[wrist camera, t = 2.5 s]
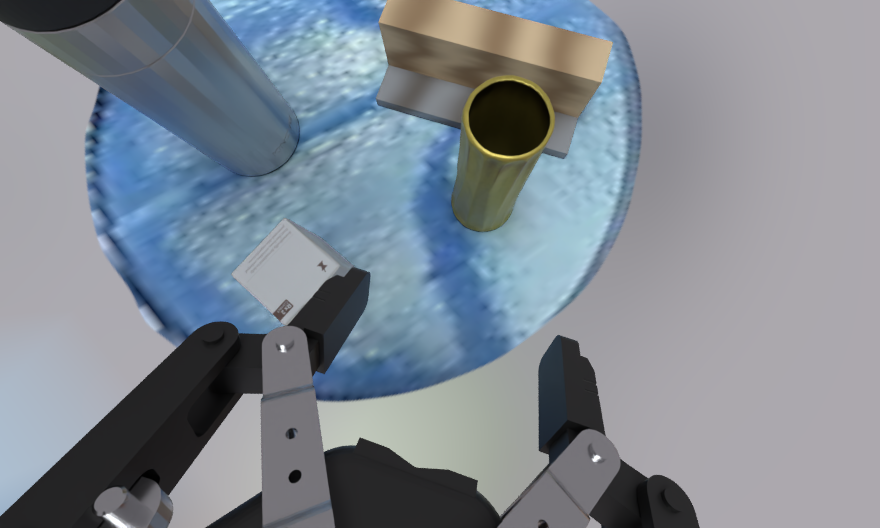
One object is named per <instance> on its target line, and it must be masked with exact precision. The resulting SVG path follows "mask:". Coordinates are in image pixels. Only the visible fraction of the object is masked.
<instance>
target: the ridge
mask: <svg viewBox="0 0 880 528" xmlns="http://www.w3.org/2000/svg"><path fill="white" fill-rule="evenodd" d="M379 26H380V30H381V34H382V39H383V43H384V47H385V51H386V55H387V60H388V64H389V66H388V68H387V71H386V73H385V76H384V79H383V81H382V84H381V86H380V89H379V92H378V94H377V97H376V101H377V104H378V105H380V106H383V107H387V108H390V109H394V110H397V111H401V112H404V113H408V114H411V115H414V116H418V117H421V118H425V119H428V120H432V121H435V122H439V123H442V124H446V125H449V126H452V127H456V128H459V129H461V116H462V111H463V109H464V106H465V104H466V102H467V100H468V98H469V96H470V94H471V93H472V92H473V91H474V90H475V89H476V88H477V87H478V86H479V85H481V84H482V83H484V82H485V81H487V80H489V79H491V78H494V77H497V76H503V75H514V76H519V77H522V78H525V79H527V80H530V81H532V82H534V83H536V84H537V85H538V86H539V87H541V89H542V90H543V91H544V92H545V93H546V94H547V96H548V97H549V99H550V102H551V104H552V107H553V110H554V114H555V126H554V130H553V133H552V135H551V137H550V139H549V141H548V143H547V144H546V146H545V148H544V149H543V151H542V153H546V154H549V155H553V156H556V157H560V158H563V159H564V158H565V157H566V155H567V154H568V151H569V147H570V144H571V140H572V137H573V133H574V130H575V126H576V123H577V119H578V117H579V116H580V114H581V113H582V111H583V110H584V108H585V107H586V105H587V104H588V102H589V101H590V99H591V98H592V96H593V95H594V93H595V92H596V90H597V89H598V87H599V86H600V84H601V83H602V79H603V76H604V72H605V69H606V65H607V61H608V58H609V54H610V51H611V47H612V44H613V42H610V41H607V40H603V39H599V38H595V37H591V36H587V35H584V34H580V33H576V32H572V31H568V30H565V29H561V28H557V27H553V26H549V25H545V24H542V23H538V22H534V21H530V20H526V19H522V18H519V17H515V16H511V15H507V14H503V13H499V12H496V11H492V10H488V9H484V8H480V7H477V6H473V5H469V4H465V3H461V2H457V1H454V0H387V3H386V5H385V8H384V10H383V13H382V15H381V18H380V20H379Z"/></svg>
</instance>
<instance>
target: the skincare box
mask: <svg viewBox="0 0 880 528" xmlns="http://www.w3.org/2000/svg"><path fill="white" fill-rule="evenodd" d="M352 267H354V266H353V265H352V264H351V263H350V262H349V261H347V260H346V259H345V258H344V257H343V256H342V255H340V254H339V253H338V252H337V251H336V250H335V249H334V248H332V247H331V246H330V245H329V244H328V243H327V242H325V241H324V240H323V239H322V238H321V237H319V236H317V235H316V234H314V233H312V232H310V231H308V230H306V229H305V228H303V227H301V226H299V225H298V224H296V223H294V222H292V221H290V220H289V219H287V218H284V219H283V220H282V221H281V222H280V223H279V224H278V225H277V226H276V227H275V228H274V229H273V230H272V231H271V232H270V233H269V235H268V236H267V237H266V238H265V239H264V240H263V241H262V242H261V243H260V244H259V245H258V246H257V247H256V248H255V249H254V250H253V251H252V252H251V253H250V255H249V256H248V257H247V258H246V259H245V260H244V261H243V262H242V263H241V264H240V265H239V266H238V267H237V268H236V269H235V270H234V271H233V272H232V274H231V275H232V276H233V277H234V278H235V279H236V280H237V281H238V282H239V283H240V284H241V285H242V286H243V287H244V288H245V289H247V290H248V291H249V292H250V293H251V294H252V295H253V296H254V297H255V298H256V299H257V300H258V301H259V302H260V303H261V304H262V305H263V306H264V307H266V308H267V309H268V310H269V311H270V312H271V313H272V314H273V315H274V316H275V317H276V318H277V319H278V320H279V321H280V322H281V323H282V324H283V325H285V326H287V325H288V324H289V323H290V322H291V321H292V319H293V318H294V317H295V316H296V315H297V314H298V312H299V311H300V310H301V309H302V308H303V307H304V305H305V304H306V303H307V302H308V301H309V300H310V298H312V297H313V295H314V294H315V293H316V291H318V289H319V288H320V287H321V286H322V284H323V283H324V282H325V281H326V280H328V279H330V278H332V277H333V276H335V275H339V276H342V277H344V276H345V275H346V274H347V273H348V271H349V270H350V269H351V268H352ZM355 268H356V267H355Z"/></svg>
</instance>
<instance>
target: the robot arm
mask: <svg viewBox="0 0 880 528" xmlns="http://www.w3.org/2000/svg"><path fill="white" fill-rule="evenodd" d="M0 21H1V22H3V23H4V24H5V25H7V26H8V27H10V28H11V29H13V30H15V31H16V32H18V33H19V34H21V35H22V36H24V37H25V38H27V39H28V40H30V41H31V42H33V43H34V44H36V45H38V46H39V47H41V48H42V49H44V50H45V51H47V52H48V53H50V54H51V55H53V56H54V57H56V58H57V59H59V60H61V61H62V62H64V63H65V64H67V65H68V66H70V67H72V68H73V69H75V70H76V71H78V72H80V73H81V74H83V75H84V76H86V77H87V78H89V79H90V80H92V81H93V82H95V83H96V84H98V85H99V86H101V87H102V88H104V89H106V90H107V91H109V92H110V93H112V94H113V95H115V96H116V97H118V98H119V99H121V100H122V101H124V102H125V103H127V104H129V105H130V106H132V107H133V108H135V109H136V110H138V111H139V112H141V113H142V114H144V115H145V116H147V117H149V118H150V119H152V120H153V121H155V122H156V123H158V124H159V125H161V126H162V127H164V128H165V129H167V130H168V131H170V132H172V133H173V134H175V135H176V136H178V137H179V138H181V139H182V140H184V141H185V142H187V143H188V144H190V145H191V146H193V147H195V148H196V149H197V150H199V151H200V152H202V153H203V154H205V155H206V156H208V157H210V158H211V159H213V160H214V161H216V162H217V163H219V164H220V165H222V166H223V167H225V168H227V169H228V170H230V171H232V172H233V173H236V174H240V175H244V176H258V175H263V174H266V173H270V172H271V171H273V170H275V169H277V168H279V167H280V166H281V165H282V164H284V163H285V162H286V161H287V160H288V159H289V157H290V156H291V155H292V153H293V151H294V150H295V148H296V145H297V142H298V139H299V124H298V120H297V117H296V115H295V113H294V111H293V110H292V109H291V107H290V106H289V105H288V103H287V102H286V101H285V99H284V98H283V97H282V95H281V94H280V93H279V91H278V90H277V89H276V87H275V86H274V85H273V83H272V82H271V80H270V79H269V78H268V77H267V75H266V74H265V73H264V71H263V70H262V69H261V67H260V66H259V65H258V63H257V62H256V61H255V60H254V58H253V57H252V56H251V54H250V53H249V52H248V50H247V49H246V48H245V46H244V45H243V44H242V42H241V41H240V40H239V39H238V37H237V36H236V35H235V33H234V32H233V31H232V29H231V28H230V27H229V25H228V24H227V23H226V22H225V20H224V19H223V18H222V16H221V15H220V14H219V12H218V11H217V10H216V8H215V7H214V6H213V4H212V3H211V2H210V1H209V0H0ZM369 285H370V272H367V271H364V270H361V269H358V268H355V267H352V268H351V269H350V270H349V271H348V273H347V274H346V275H345V276H344V277H342V276H339V275H335V276H333V277H332V278H330V279H328V280H326V281H325V282H324V283H323V284H322V286H321V287H320V288H319V289H318V291H316V293H315V294H314V295H313V297H312V298H310V300H309V301H308V302H307V303H306V304H305V305H304V307H303V308H302V309H301V310H300V311H299V312H298V314H297V315H296V316H295V317H294V318H293V319H292V321H291V322H290V323H289V324H288V325H287V326H283V327H279V328H276V329H274V330H272V331H271V332H269V333H268V334H243V333H238V330H237V328H236V327H235V326H234V325H233V324H231V323H228V322H212V323H209V324H206V325H204V326H202V327H200V328H198V329H197V330H196V331H194V332H193V333H192V334H191V335H190V336H189V337H188V338H187V339H186V340H185V341H184V342H183V343H182V344H181V345H180V346H179V347H178V348H176V349H175V350H174V351H173V352H172V353H171V354H170V355H169V356H168V357H167V358H166V359H165V360H164V361H163V362H162V363H161V364H160V365H159V366H158V367H157V368H156V369H155V370H153V371H152V372H151V373H150V374H149V375H148V376H147V377H146V378H145V379H144V380H143V381H142V382H141V383H140V384H139V385H138V386H137V387H136V388H135V389H134V390H132V391H131V392H130V393H129V394H128V395H127V396H126V397H125V398H124V399H123V400H122V401H121V402H120V403H119V404H118V405H117V406H116V407H115V408H114V409H113V410H111V411H110V412H109V413H108V414H107V415H106V416H105V417H104V418H103V419H102V420H101V421H100V422H99V423H98V424H97V425H96V426H95V427H94V428H93V429H91V430H90V431H89V432H88V434H86V435H85V436H84V437H83V438H82V439H81V440H80V441H79V442H78V443H77V444H76V445H75V446H74V447H73V448H72V449H71V450H70V451H69V452H68V453H66V454H65V455H64V456H63V457H62V458H61V459H60V460H59V461H58V462H57V463H56V464H55V465H54V466H53V467H52V468H51V469H50V470H49V471H47V472H46V473H45V474H44V475H43V476H42V477H41V478H40V479H39V480H38V481H37V482H36V483H35V484H34V485H33V486H32V487H31V488H30V489H29V490H28V491H27V492H25V493H24V494H23V495H22V496H21V497H20V498H19V499H18V500H17V501H16V502H15V503H14V504H13V505H12V506H11V507H10V508H9V509H8V510H7V511H5V513H3V514H2V515H1V516H0V528H167V527H168V525H169V523H170V521H171V518H172V515H173V503H172V500H171V499H170V497H169V496H168V495H169V494H170V493H171V491H172V490H173V488H174V487H175V486H176V484H177V483H178V482H179V480H180V479H181V478H182V476H183V475H184V474H185V472H186V471H187V469H188V468H189V467H190V465H191V464H192V463H193V461H194V460H195V459H196V457H197V456H198V455H199V453H200V452H201V450H202V449H203V448H204V446H205V445H206V444H207V442H208V441H209V440H210V438H211V437H212V435H213V434H214V433H215V431H216V430H217V429H218V427H219V426H220V425H221V423H222V422H223V421H224V419H225V418H226V417H227V415H228V414H229V412H230V411H231V410H232V408H233V407H234V406H235V404H236V403H237V402H238V400H239V399H240V398H241V396H242V395H243V393H245V394H247V393H250V394H263V398H262V399H261V448H262V450H261V452H262V491H261V492H260V493H258V494H257V495H256V496H254V497H252V498H251V499H249V500H248V501H246V502H244V503H243V504H241V505H240V506H238V507H237V508H235V509H234V510H232V511H231V512H229V513H227V514H226V515H224V516H223V517H221V518H220V519H218V520H217V521H215V522H213V523H212V524H210V525H209V526H207V527H206V528H586V527H587V525H588V523H589V521H590V518H589V515H590V516H591V517H592V518H594V519H595V520H596V521H598V522H599V523H600V524H601V526H602V528H700V527H699V524H698V520H697V517H696V513H695V510H694V507H693V505H692V503H691V501H690V499H689V498H688V496H687V495H686V494H685V492H684V491H683V490H682V489H681V488H680V487H679V486H678V485H677V484H676V483H675V482H674V481H672V480H671V479H669V478H667V477H665V476H662V475H654V476H651V477H650V478H647V477H645V476H644V475H642V474H641V473H639V472H638V471H637V470H635V469H634V468H632V467H631V466H629V465H628V464H626V463H625V462H624V461H622V460H621V459H620V457H619V454H618V452H617V449H616V448H615V447H614V445H613V443H612V442H611V441H610V440H609V439H608V438H607V437H606V435H605V431H604V425H603V419H602V413H601V407H600V402H599V396H598V389H597V386H596V378H595V372H594V369H593V368H592V366H591V364H590V362H589V360H588V359H587V358H585V357H582V356H580V351H579V343H578V342H577V341H575V340H572V339H569V338H566V337H563V336H560V335H557V336H556V338H555V339H554V340H553V342H552V344H551V345H550V346H549V348H548V350H547V351H546V352H545V354H544V356H543V357H542V359H541V362H540V365H539V375H538V376H539V451H540V452H543V453H546V454H549V464H548V465H547V466H546V467H545V468H544V469H543V471H541V472H540V474H539V475H538V476H537V477H536V478H535V479H534V480H533V481H532V483H531V484H530V485H529V486H528V487H527V488H526V489H525V490H524V491H523V492H522V494H521V495H520V496H519V497H518V498H517V499H516V500H515V501H514V502H513V503H512V504H511V505H510V506H509V507H508V508H507V509H506V511H505V512H504V513H503V514H502V515H501V516H499V515H498V513H497V512H496V511H495V509H494V507H493V506H492V505H491V504H490V502H489V501H488V500H487V499H486V498H485V497H484V496H483V495H482V494H481V493H479V492H478V491H477V482H478V481H477V480H475V479H472V478H469V477H467V476H464V475H461V474H458V473H456V472H453V471H450V470H444V469H428V468H416V467H414V466H412V465H411V464H410V463H408V462H407V461H406V460H404V459H403V458H401V457H400V456H399V455H397V454H396V453H395V452H393V451H392V450H390V449H389V448H387V447H384V446H382V445H379V444H376V443H374V442H371V441H368V440H365V439H363V438H359V441H358V443H357V445H356V446H341V447H337V448H333V449H330V450H327V451H325V452H323V444H322V437H321V430H320V423H319V417H318V409H317V402H316V395H315V389H314V386H313V380H312V377H313V375H314V374H315V372H316V371H317V372H320V373H323V374H325V372H326V371H327V369H328V368H329V366H330V364H331V363H332V361H333V360H334V358H335V356H336V355H337V353H338V352H339V350H340V348H341V347H342V345H343V344H344V342H345V340H346V339H347V337H348V336H349V334H350V332H351V331H352V329H353V328H354V326H355V324H356V323H357V321H358V320H359V318H360V316H361V315H362V313H363V312H364V310H365V307H366V305H367V301H368V296H369Z"/></svg>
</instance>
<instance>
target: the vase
mask: <svg viewBox="0 0 880 528" xmlns="http://www.w3.org/2000/svg"><path fill="white" fill-rule="evenodd" d="M554 126H555V114H554V110H553V107H552V104H551V102H550V99H549V97H548V96H547V94H546V93H545V92H544V91H543V90H542V89H541V87H539V86H538V85H537V84H536V83H534V82H532V81H530V80H527V79H525V78H522V77H519V76H514V75H503V76H497V77H494V78H491V79H489V80H487V81H485V82H484V83H482V84H481V85H479V86H478V87H477V88H476V89H475V90H474V91H473V92H472V93H471V94H470V96H469V98H468V100H467V102H466V104H465V106H464V109H463V111H462V116H461V134H460V148H459V157H458V164H457V177H456V182H455V185H454V190H453V193H452V198H451V202H452V208H453V212H454V214H455V216H456V218H457V219H458V220H459V221H460V222H461V223H462V224H463V225H464V226H465V227H467V228H469V229H472V230H475V231H481V232H485V231H491V230H494V229H497V228H499V227H500V226H502V225H503V224H504V223H505V222H506V221H507V220H508V218H509V217H510V215H511V213H512V210H513V207H514V204H515V202H516V200H517V197H518V195H519V193H520V191H521V190H522V188H523V186H524V184H525V182H526V180H527V178H528V177H529V175H530V173H531V172H532V170H533V168H534V166H535V164H536V162H537V161H538V159H539V157H540V155H541V153H542V151H543V149H544V148H545V146H546V144H547V143H548V141H549V139H550V137H551V135H552V133H553V130H554Z"/></svg>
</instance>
